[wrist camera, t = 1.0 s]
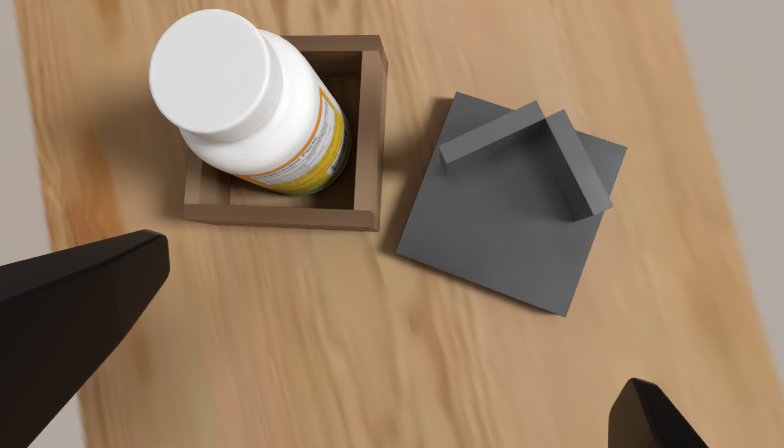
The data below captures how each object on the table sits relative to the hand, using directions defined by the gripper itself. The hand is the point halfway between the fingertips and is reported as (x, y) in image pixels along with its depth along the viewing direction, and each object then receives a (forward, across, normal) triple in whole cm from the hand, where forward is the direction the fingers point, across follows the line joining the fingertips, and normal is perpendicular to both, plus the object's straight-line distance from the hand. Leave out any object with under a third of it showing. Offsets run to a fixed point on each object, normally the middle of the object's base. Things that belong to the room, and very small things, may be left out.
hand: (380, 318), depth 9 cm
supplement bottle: (+15, +8, +4) cm, 17 cm away
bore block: (+15, +8, +4) cm, 17 cm away
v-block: (+15, -3, +4) cm, 15 cm away
